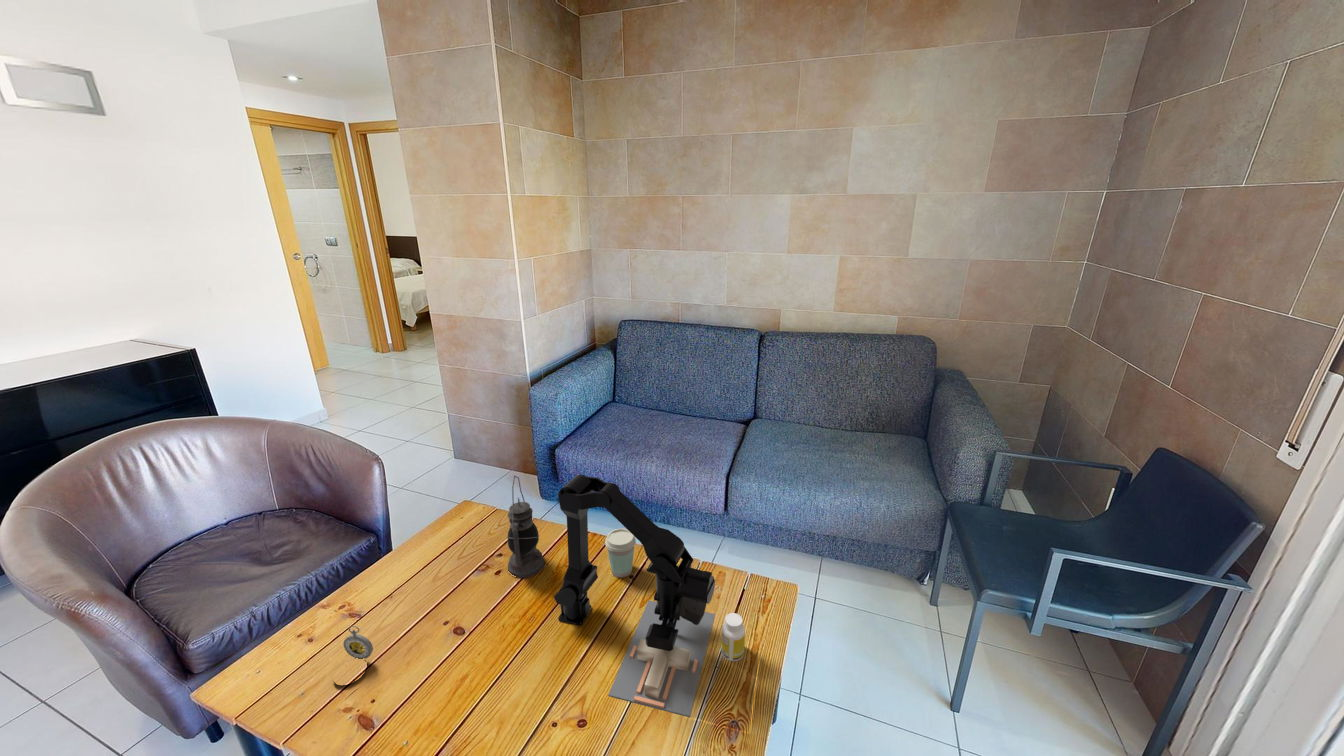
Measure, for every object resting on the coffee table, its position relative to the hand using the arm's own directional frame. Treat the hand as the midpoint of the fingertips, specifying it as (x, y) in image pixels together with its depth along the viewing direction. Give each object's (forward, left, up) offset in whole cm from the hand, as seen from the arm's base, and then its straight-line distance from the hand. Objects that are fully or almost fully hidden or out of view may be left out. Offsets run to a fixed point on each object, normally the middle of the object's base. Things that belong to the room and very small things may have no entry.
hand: (669, 638), depth 118 cm
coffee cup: (-20, +20, -2) cm, 29 cm away
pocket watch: (-67, -26, -2) cm, 72 cm away
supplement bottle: (+15, +1, -2) cm, 15 cm away
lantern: (-48, +15, -2) cm, 50 cm away
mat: (0, -3, -1) cm, 3 cm away
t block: (0, -9, -1) cm, 9 cm away
